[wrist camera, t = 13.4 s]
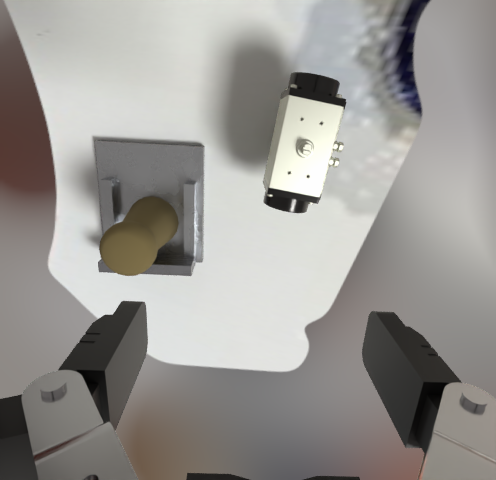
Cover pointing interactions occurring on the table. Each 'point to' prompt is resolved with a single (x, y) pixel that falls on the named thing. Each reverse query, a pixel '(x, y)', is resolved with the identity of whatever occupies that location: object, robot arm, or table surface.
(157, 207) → the cork
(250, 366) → the table surface
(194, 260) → the bracket
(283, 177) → the pneumatic valve
